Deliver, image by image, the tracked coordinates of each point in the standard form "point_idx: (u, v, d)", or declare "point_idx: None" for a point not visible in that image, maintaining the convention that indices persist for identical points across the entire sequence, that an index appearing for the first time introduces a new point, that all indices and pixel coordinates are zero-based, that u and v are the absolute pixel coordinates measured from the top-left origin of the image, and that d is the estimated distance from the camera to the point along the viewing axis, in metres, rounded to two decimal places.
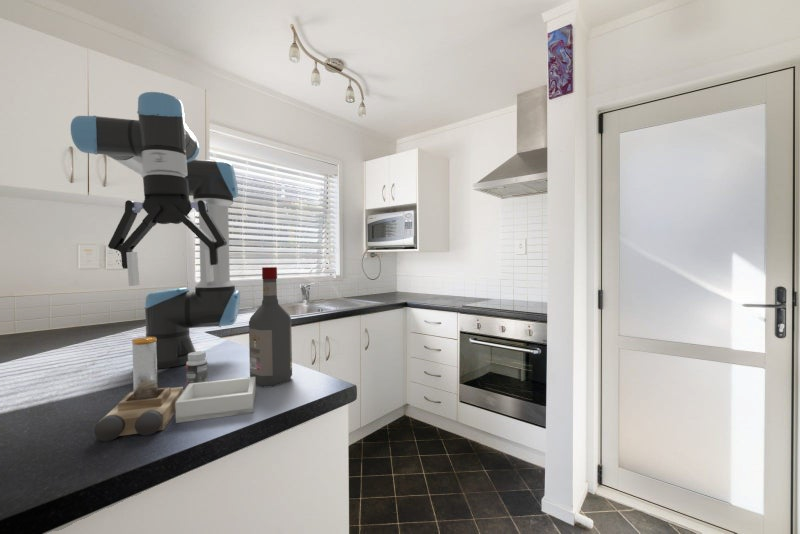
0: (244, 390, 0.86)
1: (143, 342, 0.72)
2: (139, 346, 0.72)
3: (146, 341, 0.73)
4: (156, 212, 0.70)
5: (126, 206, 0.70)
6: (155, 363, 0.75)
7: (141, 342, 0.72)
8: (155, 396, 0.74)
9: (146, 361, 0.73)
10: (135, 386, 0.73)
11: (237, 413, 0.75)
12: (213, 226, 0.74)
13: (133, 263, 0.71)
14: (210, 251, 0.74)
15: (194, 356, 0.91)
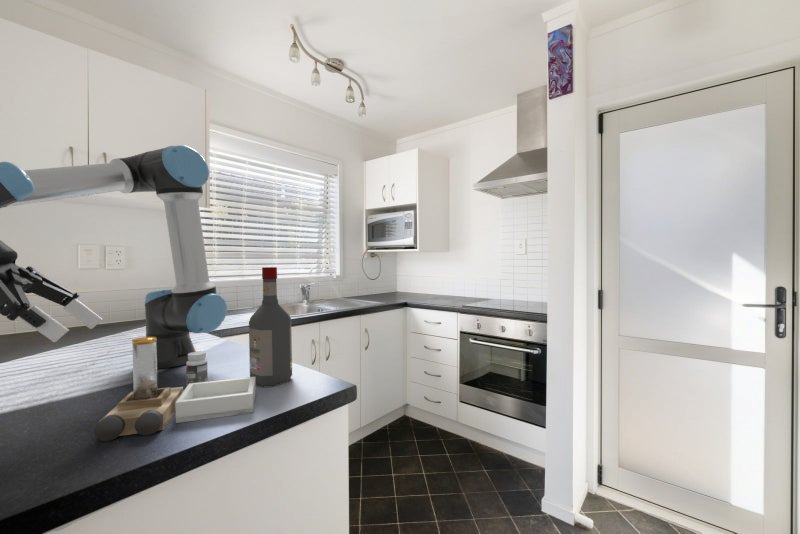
0: (244, 390, 0.86)
1: (143, 342, 0.72)
2: (139, 346, 0.72)
3: (146, 341, 0.73)
4: None
5: None
6: (155, 363, 0.75)
7: (141, 342, 0.72)
8: (155, 396, 0.74)
9: (146, 361, 0.73)
10: (135, 386, 0.73)
11: (237, 413, 0.75)
12: None
13: (75, 312, 0.76)
14: None
15: (194, 356, 0.91)
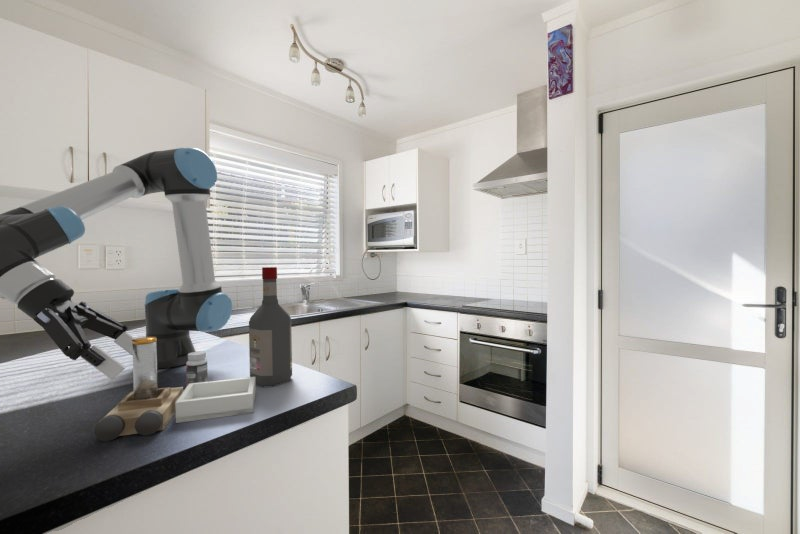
0: (244, 390, 0.86)
1: (143, 342, 0.72)
2: (139, 346, 0.72)
3: (146, 341, 0.73)
4: None
5: None
6: (155, 363, 0.75)
7: (141, 342, 0.72)
8: (155, 396, 0.74)
9: (146, 361, 0.73)
10: (135, 386, 0.73)
11: (237, 413, 0.75)
12: None
13: (125, 345, 0.78)
14: None
15: (194, 356, 0.91)
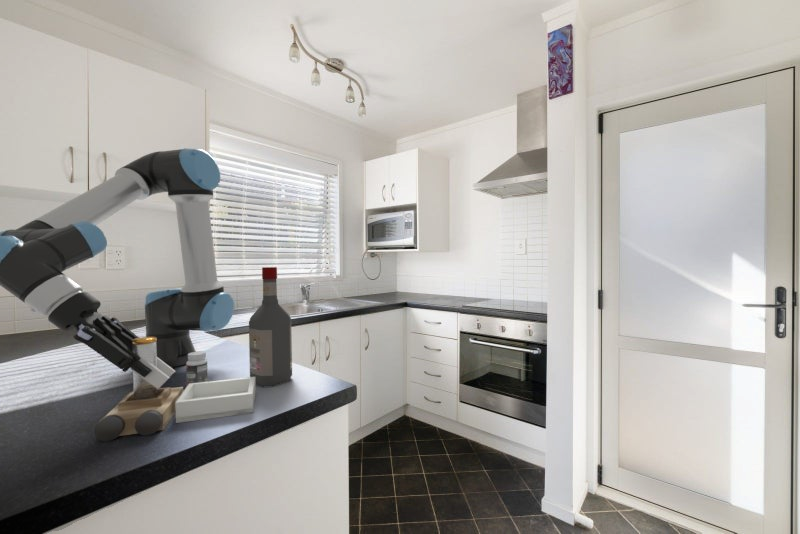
0: (244, 390, 0.86)
1: (143, 342, 0.72)
2: (139, 346, 0.72)
3: (146, 341, 0.73)
4: None
5: None
6: (155, 363, 0.75)
7: (141, 342, 0.72)
8: (155, 396, 0.74)
9: None
10: (135, 386, 0.73)
11: (237, 413, 0.75)
12: None
13: None
14: None
15: (194, 356, 0.91)
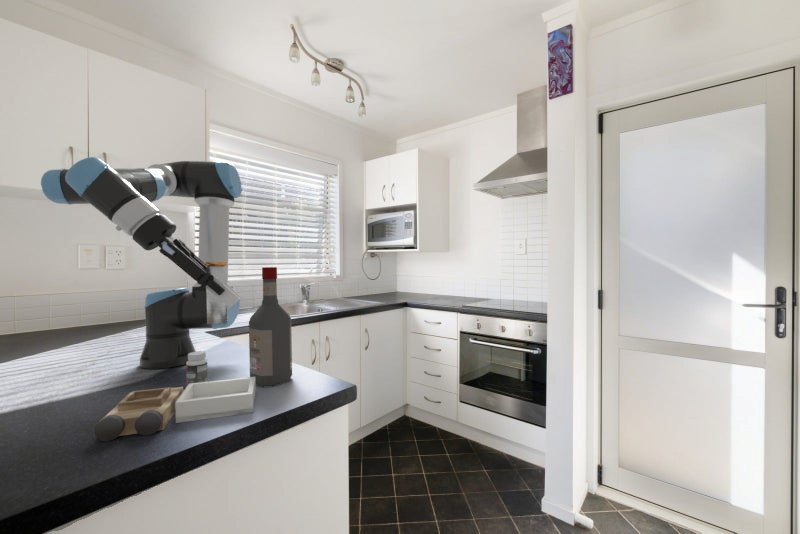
0: (244, 390, 0.86)
1: (217, 264, 0.77)
2: (213, 267, 0.77)
3: (219, 263, 0.77)
4: None
5: None
6: (226, 285, 0.79)
7: (215, 263, 0.77)
8: (226, 316, 0.79)
9: None
10: (209, 305, 0.77)
11: (237, 413, 0.75)
12: (184, 270, 0.72)
13: None
14: None
15: (194, 356, 0.91)
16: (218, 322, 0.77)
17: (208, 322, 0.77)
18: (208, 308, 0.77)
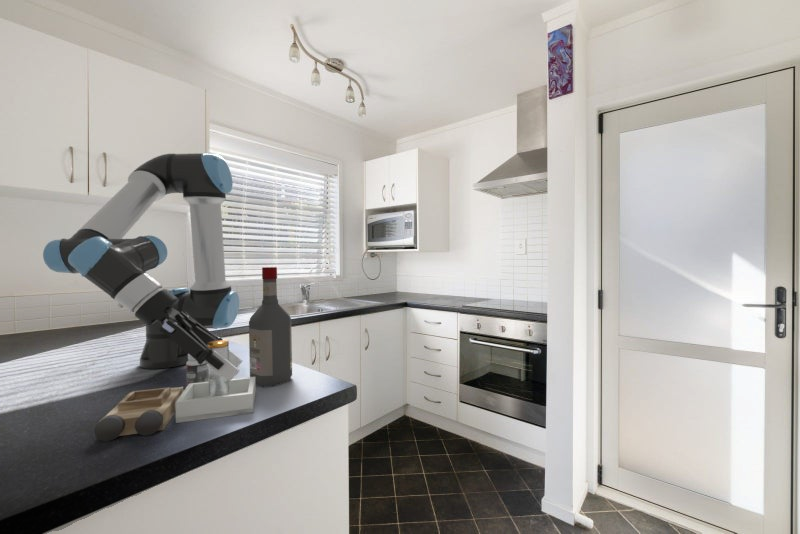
0: (244, 390, 0.86)
1: (218, 346, 0.77)
2: (215, 350, 0.77)
3: (221, 345, 0.77)
4: None
5: None
6: None
7: (217, 346, 0.77)
8: None
9: None
10: (211, 387, 0.77)
11: (237, 413, 0.75)
12: (182, 348, 0.71)
13: None
14: None
15: None
16: None
17: None
18: (210, 390, 0.78)
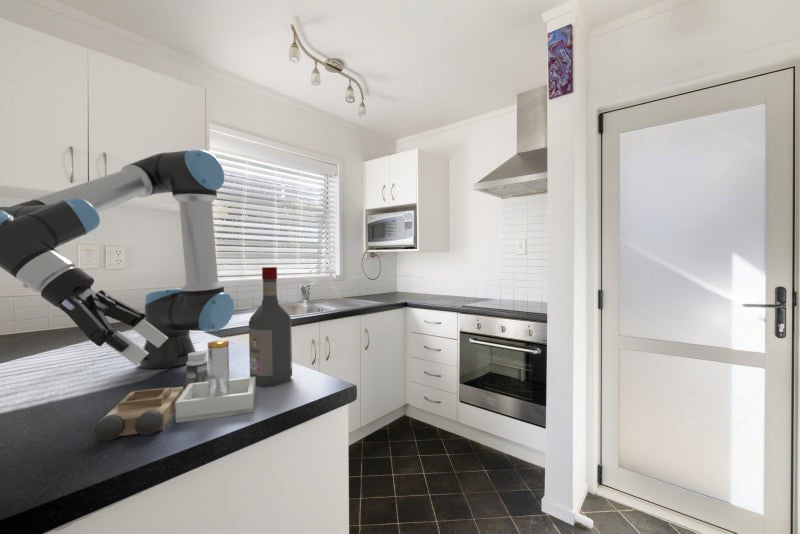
0: (244, 390, 0.86)
1: (218, 346, 0.77)
2: (215, 349, 0.77)
3: (221, 345, 0.78)
4: None
5: None
6: (228, 365, 0.79)
7: (217, 346, 0.77)
8: None
9: (221, 364, 0.78)
10: (211, 387, 0.77)
11: (237, 413, 0.75)
12: None
13: (144, 332, 0.80)
14: None
15: (194, 356, 0.91)
16: None
17: None
18: (210, 390, 0.78)
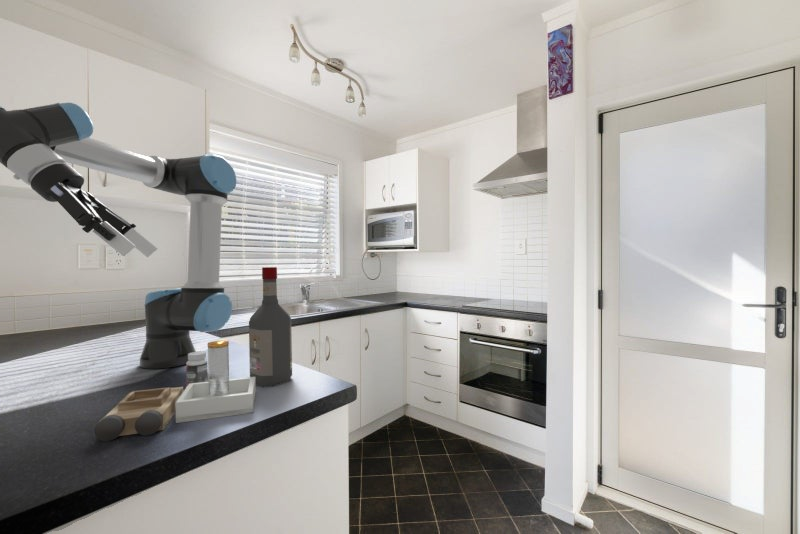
0: (244, 390, 0.86)
1: (218, 346, 0.77)
2: (215, 349, 0.77)
3: (221, 345, 0.78)
4: None
5: None
6: (228, 365, 0.79)
7: (217, 346, 0.77)
8: None
9: (221, 364, 0.78)
10: (211, 387, 0.77)
11: (237, 413, 0.75)
12: (67, 211, 0.65)
13: (133, 240, 0.81)
14: None
15: (194, 356, 0.91)
16: None
17: None
18: (210, 390, 0.78)
